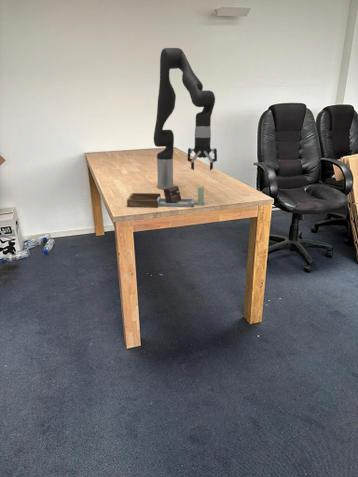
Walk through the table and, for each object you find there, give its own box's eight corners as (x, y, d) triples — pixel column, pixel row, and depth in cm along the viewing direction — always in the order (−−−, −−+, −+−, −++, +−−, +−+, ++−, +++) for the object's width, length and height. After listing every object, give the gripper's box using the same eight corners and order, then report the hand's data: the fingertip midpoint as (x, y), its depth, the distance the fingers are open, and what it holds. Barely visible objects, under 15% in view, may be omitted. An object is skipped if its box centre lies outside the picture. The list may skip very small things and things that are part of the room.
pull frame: (158, 201, 189) (158, 184, 186) (203, 201, 188) (203, 184, 184) (156, 206, 180) (155, 188, 177) (203, 207, 179) (203, 189, 176)
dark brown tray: (132, 199, 192) (131, 193, 191) (160, 199, 191) (160, 193, 190) (127, 207, 180) (126, 200, 178) (157, 207, 179) (157, 200, 177)
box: (171, 203, 180) (168, 189, 178) (165, 202, 185) (162, 188, 183) (181, 200, 182) (178, 186, 180) (176, 199, 188) (173, 185, 186)
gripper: (217, 135, 174) (216, 168, 180) (188, 134, 175) (187, 168, 181) (218, 137, 167) (216, 171, 173) (187, 136, 168) (187, 171, 174)
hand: (201, 170), depth 177 cm, fingers open, 8 cm apart
